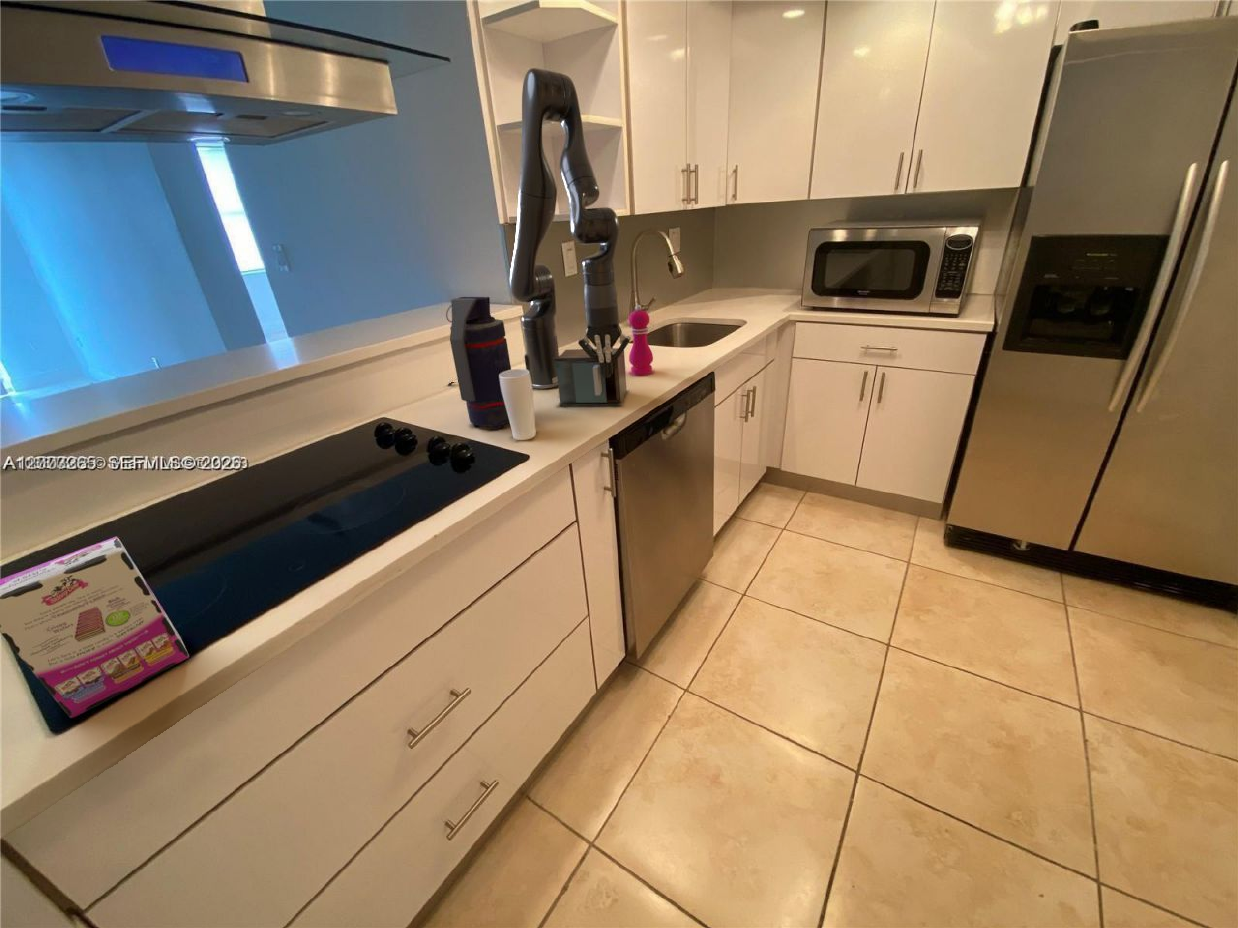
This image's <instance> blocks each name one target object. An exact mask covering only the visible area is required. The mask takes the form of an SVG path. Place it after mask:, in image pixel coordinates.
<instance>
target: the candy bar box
mask: <svg viewBox="0 0 1238 928" xmlns="http://www.w3.org/2000/svg"><path fill="white" fill-rule="evenodd" d="M0 634H1V636H2V637H3V639H5V640H6V642H7V643H8V644H9V645H10V646H11V648H12V649H13V650H14V651H15V653H16V654H17V655H18V656H19V657H20V658H21V660H22V661H23V662H24V664H25V665H26V666H27V667H28V669H30V671H31V672H32V673H33V674H34V676H35V677H36V678H37V679H38V680H39V682H40V683H41V684H42V685H43V687H44V688H45V689H46V690H47V692H48V693H49V694H50V695H51V696H52V697H53V698H54V700H55V701H56V702H57V704H58V705H59V706H60V708H61V709H62V710H63V711H64V713H65V714H66V715H67V716H68V717H69V718H70V719H73V718H76V717H78V716H80V715H82V714H84V713H86V712H88V711H90V710H92V709H94V708H95V707H98V706H100V705H101V704H103V703H105V702H107V701H109V700H111V699H113V698H116V697H117V696H118V695H121V694H123V693H124V692H126V691H128V690H130V689H132V688H134V687H136V686H138V685H140V684H142V683H144V682H145V681H147V680H149V679H151V678H153V677H155V676H158V674H161V673H162V672H164V671H167V670H168V669H170V668H172V667H174V666H176V665H177V664H180V663H182V662H183V661H186V660H187V659H189V658H190V654H189V653H188V650H187V648H186V646H185V643H184V641H183V639H182V637H181V636H180V634H179V632H178V630H177V629H176V628H175V626H174V625H173V623H172V621H171V620H170V618H169V616H168V614H167V613H166V611H165V610H164V608H163V606H162V605H161V604H160V602H159V600H158V599H157V597H156V596H155V593H153V590H152V589H151V587H150V586H149V585H148V582H147V581H146V580H145V578H144V576H143V575H142V573H141V572H140V570H139V568H138V567H137V565H136V564H135V562H134V561H133V559H132V557H131V556H130V554H129V553H128V551H127V549H126V548H125V546H124V544H123V543H122V541H121V540H120V538H119V537H118V536H114V537H111V538H109V539H106V540H103V541H101V542H97V543H95V544H92V545H90V546H89V545H88V546H86V547H84V548H81V549H78V550H75V551H73V552H71V553H68V554H65V555H62V556H59V557H57V558H55V559H52V560H49V561H46V562H44V563H41V564H38V565H35V566H33V567H30V568H28V569H24V570H22V571H19V572H17V573H14V574H11V575H8V576H6V577H3V578H1V579H0Z"/></svg>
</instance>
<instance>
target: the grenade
mask: <svg viewBox="0 0 1238 928" xmlns="http://www.w3.org/2000/svg"><path fill="white" fill-rule="evenodd" d="M490 300H491V299H490V296H460V297H457V298H453V299H451V302H450V303H451V304H450V305H449V306H448V307H447V309H446V312H445V318H446V320H447V321H448V322H449V323H451V324H450V335H449V342H450V347H451V352H452V359H453V363H454V367H455V374H456V378H457V379H456V380H458V382H457V383H458V388H459V394H460V398H461V400H462V401H465V404H466V409H467V413H468V418H469V422H470V424H472V426H473V427H477V426H478V427H491V429H492V430H501V429H502V428H503V426H504V425H506V424H510V422H509V418H508V415H507V411H506V407H505V404H504V400H503V396H502V392H501V387H500V380H499V374H500V373H502V372H504V371H507V370H512V365H511V361H510V354H509V349H508V348H509V347H508V342H507V341H508V340H507V338H506V329H505V323H504V321H503V320H501V319H497V318H495V317H494V316H492V315H491V302H490ZM450 308H451V320H450V319H449V317H448V313H449V310H450Z"/></svg>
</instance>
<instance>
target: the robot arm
mask: <svg viewBox="0 0 1238 928" xmlns="http://www.w3.org/2000/svg"><path fill="white" fill-rule="evenodd" d="M581 114H582V113H581V109H580V103H579V98H578V93H577V90H576V86H575V84H574V81H573V80H572V79H571V77H570V76H569V75H567V74H564V73H561V72H557V71H552V70H547V69H543V68H537V67H531V68H529V69H528V70H527V72H526V73H525V76H524V79H523V83H522V92H521V157H520V172H519V173H520V175H519V184H518V195H517V215H516V217H517V218H516V228H515V229H516V230H515V240H514V248H513V254H512V259H511V265H510V270H509V271H510V272H509V289H510V293H511V295H512V297H513V299H515V301H517V302H519V303H521V304H527V303H530V306H529V308H528V310H527V311H526V312H525V313H524V314H523V315H522V317H521V325H522V327H521V328H522V333H523V339H524V346H525V354H524V364H525V369H526V370H528V371H529V372H530V377H531V382H532V389H538V390H539V389H541V390H546V389H553V388H558V380H557V372H556V364H555V362H554V358H558V357H559V356H560V351H559V350H560V349H559V343H558V334H557V327H556V325H557V324H556V315H557V299H556V287H555V280H554V276H553V273H552V271H551V269H550V268H549V267H548V266H547V265H546V264H543V263H537V256H538V252H539V250H540V247H541V245H542V243H543V241H544V240H545V238H546V235H547V233H548V232H549V231H550V229H551V226H552V224H553V222H554V218H555V215H556V207H557V198H558V184H557V181H556V177H555V175H554V173H553V170H552V168H551V167H552V166H551V165H550V162H549V160H548V158H547V155H546V152H545V148H544V143H543V141H544V140H543V123H544V122H550V123H557V124H558V123H559V124H560V126H561V128H562V130H563V133H564V143H563V147H562V150H561V154H560V159H559V172H560V173H559V174H560V177H561V181H562V183H563V186H564V189H565V193H566V195H567V198H568V199H567V200H568V206H569V226H570V227H569V228H570V234H571V236H572V239H573V240H574V241H576V243H578V244H579V245H582V246H588V245H596V244H599V246H598V250H597V252H595V253H593V254H591V255H588V256H586V257H584V258H583V260H582V266H581V267H582V275H583V276H582V277H583V286H584V289H583V290H584V291H583V293H584V294H583V296H584V297H583V298H584V300H583V301H584V303H583V304H584V308H585V317H586V319H585V320H586V330H585V335H584V336H583V337H581V338H580V339H579V340H578V342H577V344H578V346H579V347H581V349H583V350H584V351H585V352H586V353H587V354H588V355H589V356H590V357H591V359H592V360H597V361H599V362H600V368H601V374H602V375H604V377H610V376H611V375H612V373H613V360H617V359H618V357H619V356H620V355H621V353H622V352H623V350H624V351H625V349H626V347H627V346H628V345H629V343H630V342H631V339H632V338H631V337H630V336H629V335H627V336H626V335H625V334H624V333H622V329H621V327H620V320H619V306H618V291H617V288H616V278H615V277H616V276H615V256H616V251H617V250H616V249H617V243H618V238H619V233H620V222H619V217H618V215H617V213H616V212H615V210H614V209H613V208H612V207H609V206H603V207H602V206H601V207H594V208H593V207H591V208H587V207H590V206H592V205H594V204H595V203H596V202H597V201H598V199H599V198H600V188H599V187H600V186H599V184H598V180H597V178H596V175H595V172H594V169H593V167H592V163H591V160H590V157H589V153H588V148H587V144H586V137H585V132H584V131H585V130H584V126H583V120H582V115H581ZM618 340H619V347H617V348H618V350H617V351H616V353H614V354H613V348H614V346H615V345H616V343H617V342H618ZM591 344H592V345H593V346H594V347H595V348H593V346H592V345H591ZM594 349H597V352H596V351H595V350H594ZM605 352H606V356H605ZM450 382H451V381H450ZM450 382H448V383H447V384H446V385H447V386H448V387H450V386H451V385H452V384H454V383H456V382H451V383H450Z"/></svg>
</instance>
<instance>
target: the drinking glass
mask: <svg viewBox="0 0 1238 928" xmlns="http://www.w3.org/2000/svg"><path fill="white" fill-rule="evenodd" d="M499 380H500V387H501V392H502V396H503V400H504V404H505V407H506V411H507V415H508V418H509V426H510V430H511V435H512V437H513V439H514V440H516V441H526V440H530V439H533V438H534V437H536V434H537V429H536V420H535V407H534V391H533V390H534V389H533V387H532V382H531V377H530V372H529V371H528V370H526V368H511V370H507V371H504V372H502V373H500V374H499Z"/></svg>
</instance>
